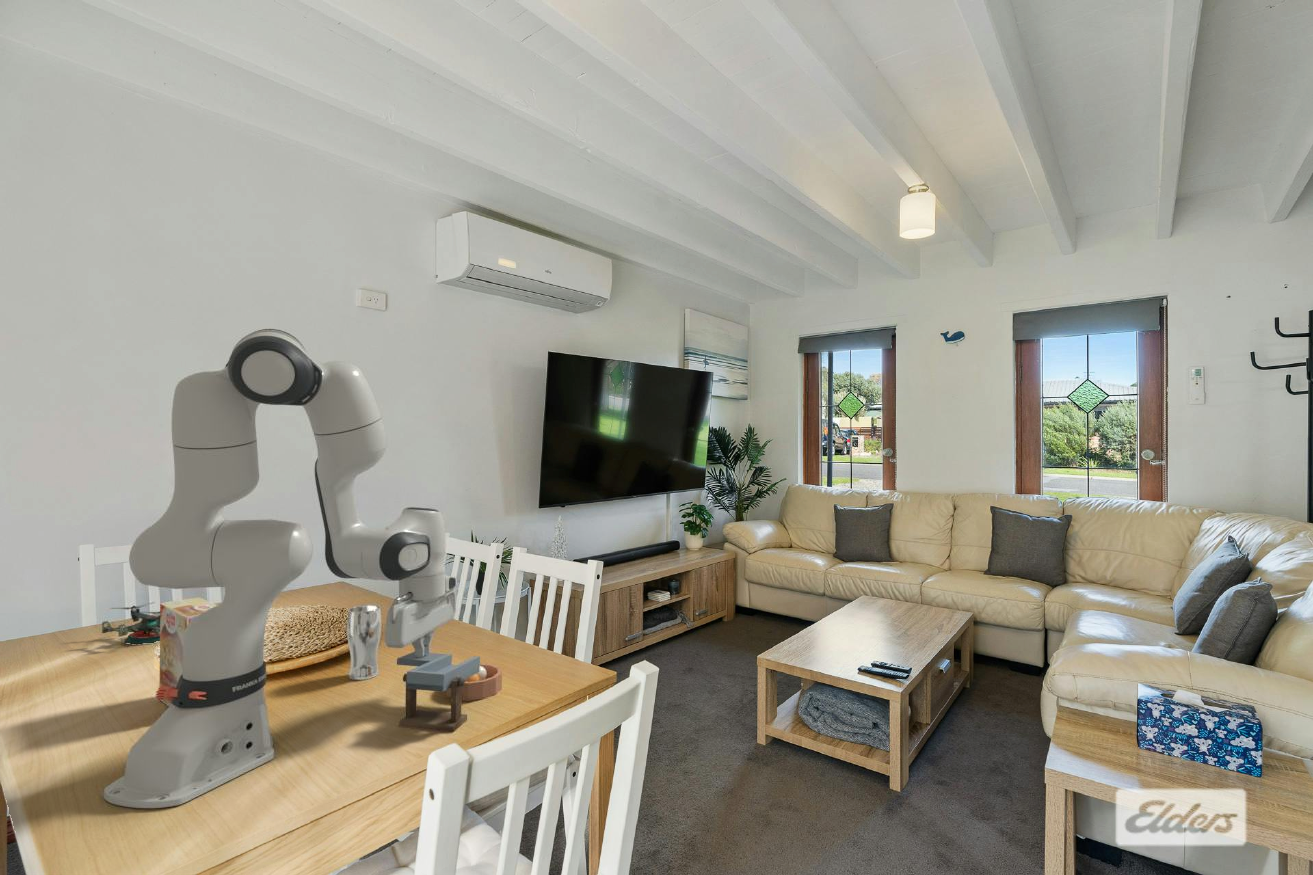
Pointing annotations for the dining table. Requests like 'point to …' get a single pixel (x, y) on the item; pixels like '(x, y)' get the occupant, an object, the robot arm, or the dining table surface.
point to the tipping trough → (436, 671)
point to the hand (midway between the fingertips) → (422, 655)
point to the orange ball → (472, 678)
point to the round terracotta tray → (482, 685)
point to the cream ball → (482, 673)
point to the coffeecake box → (176, 637)
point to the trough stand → (433, 718)
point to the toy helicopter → (138, 627)
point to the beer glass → (364, 640)
